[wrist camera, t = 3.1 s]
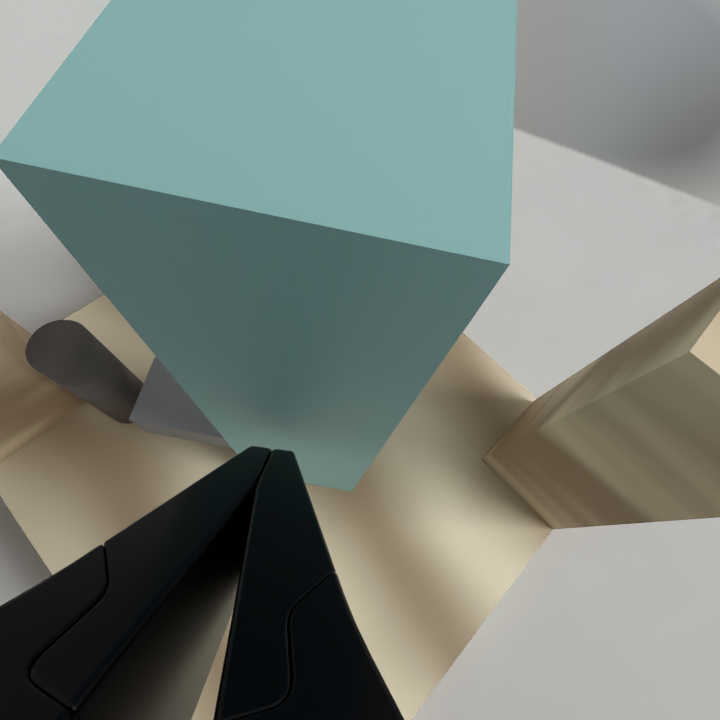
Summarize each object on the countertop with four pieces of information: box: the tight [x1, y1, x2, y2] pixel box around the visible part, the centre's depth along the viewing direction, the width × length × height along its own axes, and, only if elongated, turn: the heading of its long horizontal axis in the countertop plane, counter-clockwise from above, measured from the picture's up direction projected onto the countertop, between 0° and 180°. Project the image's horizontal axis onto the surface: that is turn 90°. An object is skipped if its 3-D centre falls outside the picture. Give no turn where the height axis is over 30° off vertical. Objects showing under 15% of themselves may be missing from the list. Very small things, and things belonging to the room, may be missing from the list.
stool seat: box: [0, 278, 720, 720], centre depth 12 cm, size 17×19×12 cm
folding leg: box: [0, 0, 517, 492], centre depth 9 cm, size 7×4×13 cm, turn 80°
